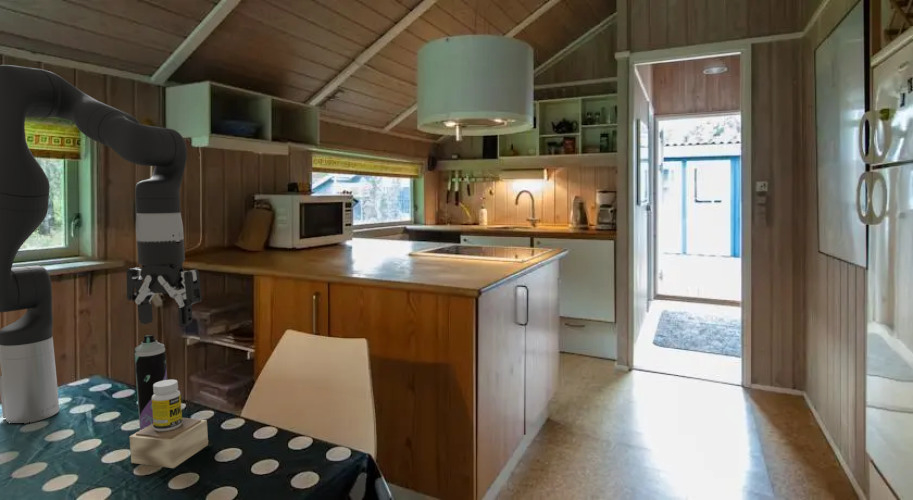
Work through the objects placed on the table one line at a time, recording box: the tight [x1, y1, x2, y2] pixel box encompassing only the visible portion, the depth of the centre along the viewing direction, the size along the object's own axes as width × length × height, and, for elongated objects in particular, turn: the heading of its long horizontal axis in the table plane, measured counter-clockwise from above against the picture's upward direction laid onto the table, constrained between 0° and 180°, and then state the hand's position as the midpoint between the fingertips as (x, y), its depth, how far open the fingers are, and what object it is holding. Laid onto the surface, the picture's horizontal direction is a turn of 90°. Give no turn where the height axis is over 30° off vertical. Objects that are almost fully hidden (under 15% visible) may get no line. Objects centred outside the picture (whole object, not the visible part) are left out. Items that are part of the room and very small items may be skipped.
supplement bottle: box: [152, 379, 183, 431], centre depth 98 cm, size 5×5×8 cm
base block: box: [128, 417, 209, 469], centre depth 99 cm, size 9×9×5 cm
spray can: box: [133, 334, 168, 431], centre depth 108 cm, size 6×6×20 cm
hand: (165, 324), depth 98 cm, fingers open, 8 cm apart
